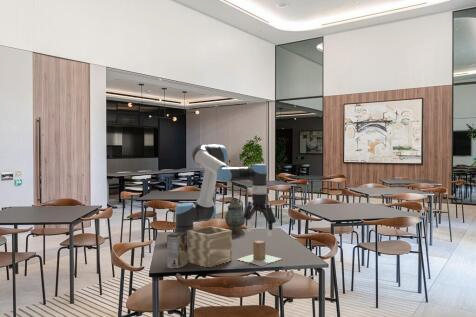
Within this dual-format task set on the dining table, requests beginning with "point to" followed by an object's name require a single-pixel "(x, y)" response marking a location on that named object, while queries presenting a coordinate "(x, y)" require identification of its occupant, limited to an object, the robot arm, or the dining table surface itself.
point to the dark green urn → (235, 217)
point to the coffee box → (176, 250)
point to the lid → (259, 254)
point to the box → (209, 246)
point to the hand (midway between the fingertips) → (259, 233)
